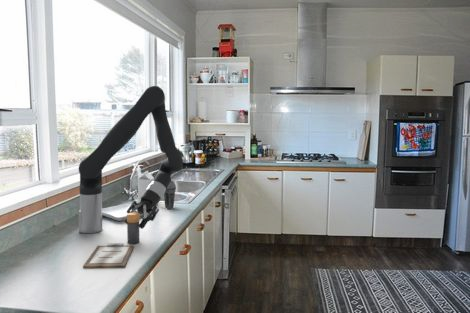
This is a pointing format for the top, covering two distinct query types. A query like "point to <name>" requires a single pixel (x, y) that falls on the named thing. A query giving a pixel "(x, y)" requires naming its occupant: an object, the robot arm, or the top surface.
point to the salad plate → (118, 212)
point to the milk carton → (143, 183)
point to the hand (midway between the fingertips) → (133, 225)
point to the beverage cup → (169, 195)
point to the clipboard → (109, 256)
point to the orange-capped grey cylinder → (133, 228)
